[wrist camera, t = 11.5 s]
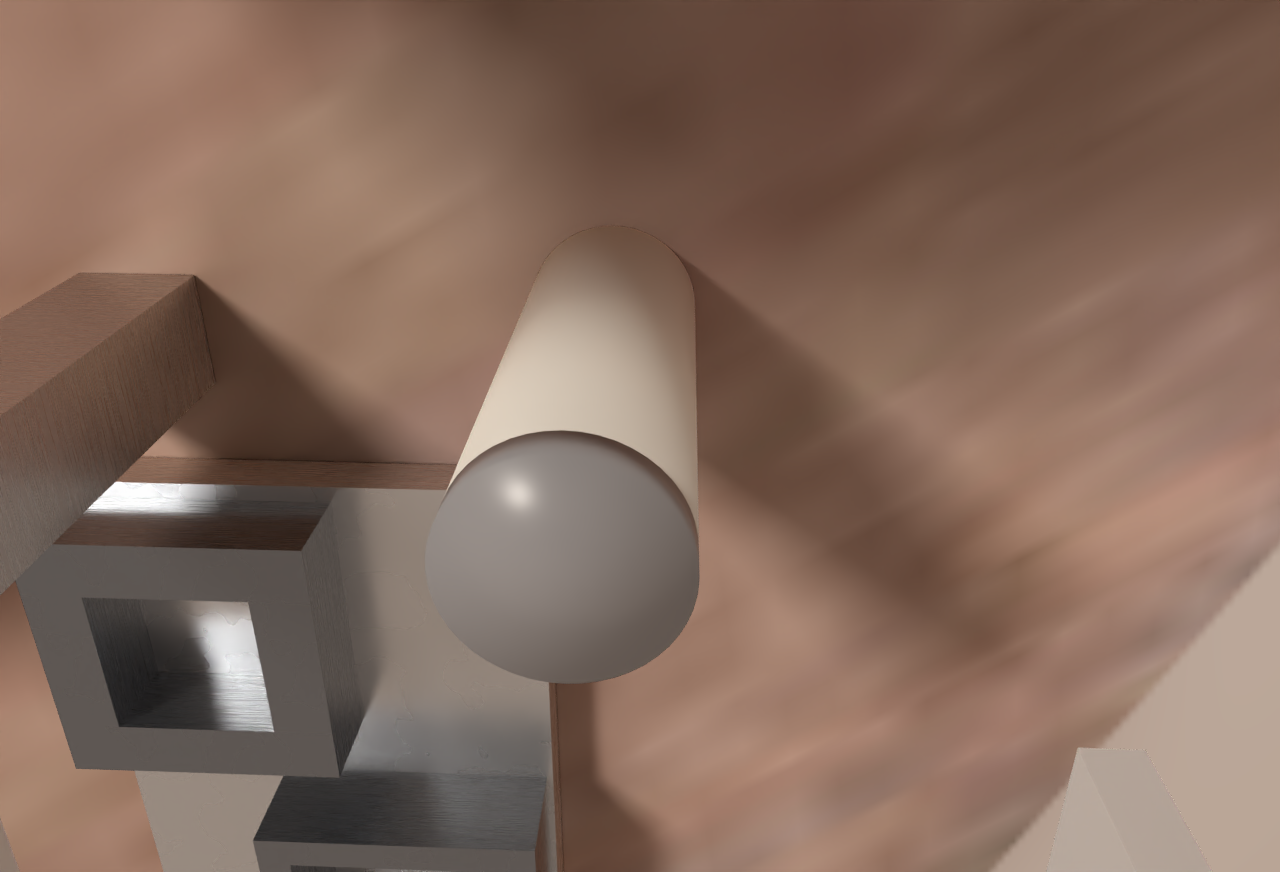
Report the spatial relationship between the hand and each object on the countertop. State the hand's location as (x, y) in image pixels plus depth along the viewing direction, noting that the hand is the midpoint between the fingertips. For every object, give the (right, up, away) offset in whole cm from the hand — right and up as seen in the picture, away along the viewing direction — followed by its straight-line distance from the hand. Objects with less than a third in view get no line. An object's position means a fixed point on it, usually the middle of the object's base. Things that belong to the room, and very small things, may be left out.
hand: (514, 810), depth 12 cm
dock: (-8, -5, +23) cm, 25 cm away
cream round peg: (+1, +8, +15) cm, 18 cm away
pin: (-12, +8, +16) cm, 22 cm away
